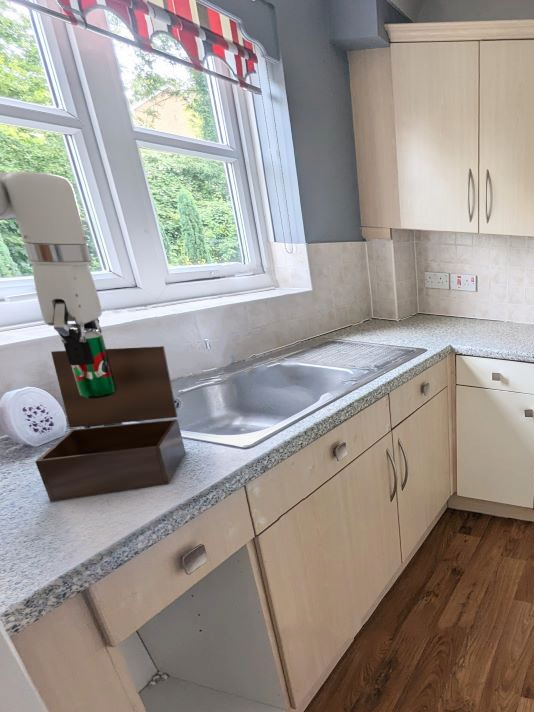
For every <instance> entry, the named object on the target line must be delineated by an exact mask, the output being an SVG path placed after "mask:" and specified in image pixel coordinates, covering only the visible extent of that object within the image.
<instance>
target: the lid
mask: <svg viewBox="0 0 534 712" xmlns="http://www.w3.org/2000/svg"><path fill="white" fill-rule="evenodd" d="M106 351H107V354H108V358H109V362H110V366H111V369H112V373H113V377H114V381H115V385H116V388H117V390H116V392H115V393H114V394H112V395H110V396H107V397H102V398H85V397H83V396H81V395H80V394H79V390H78V387H77V384H76V380H75V377H74V373H73V370H72V367H71V365H70V363H69V360H68V357H67V354H66V350H53V351H50V353H51V357H52V361H53V366H54V369H55V370H54V371H55V374H56V377H57V382H58V385H59V390H60V395H61V398H62V402H63V406H64V410H65V411H64V412H65V414H66V418H67V423H68V427H69V429H74V428H84V426H94V425H104V424H114V423H122V424H123V423H124V424H125V423H132V422H134V423H135V422H143V421H144V422H145V421H153V420H154V421H155V420H165V419H172V418H173V419H175V418H177V417H178V412H177V406H176V402H175V396H174V391H173V385H172V381H171V380H172V379H171V375H170V370H169V365H168V360H167V354H166V349H165V346H164V345H159V346H158V345H156V346H136V347H135V346H133V347H116V348H115V347H114V348H106Z"/></svg>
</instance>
